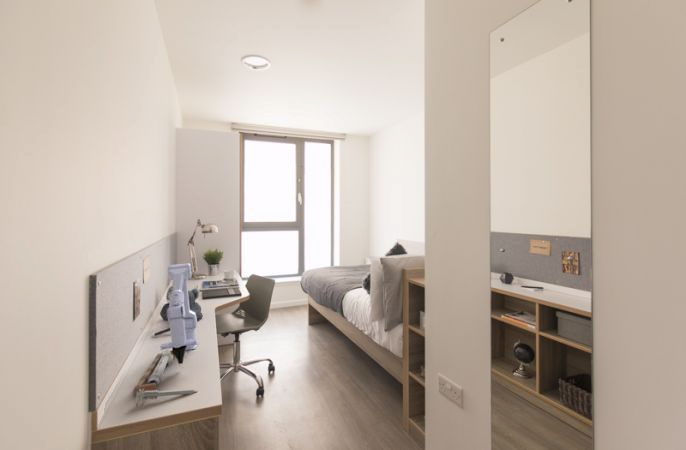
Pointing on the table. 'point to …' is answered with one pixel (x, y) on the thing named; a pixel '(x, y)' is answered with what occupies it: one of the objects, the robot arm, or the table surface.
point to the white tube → (161, 367)
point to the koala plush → (192, 304)
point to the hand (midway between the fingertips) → (181, 362)
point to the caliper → (160, 394)
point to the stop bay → (148, 376)
